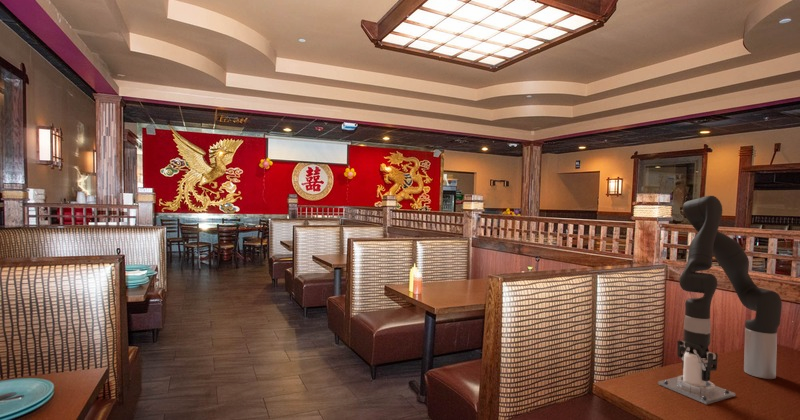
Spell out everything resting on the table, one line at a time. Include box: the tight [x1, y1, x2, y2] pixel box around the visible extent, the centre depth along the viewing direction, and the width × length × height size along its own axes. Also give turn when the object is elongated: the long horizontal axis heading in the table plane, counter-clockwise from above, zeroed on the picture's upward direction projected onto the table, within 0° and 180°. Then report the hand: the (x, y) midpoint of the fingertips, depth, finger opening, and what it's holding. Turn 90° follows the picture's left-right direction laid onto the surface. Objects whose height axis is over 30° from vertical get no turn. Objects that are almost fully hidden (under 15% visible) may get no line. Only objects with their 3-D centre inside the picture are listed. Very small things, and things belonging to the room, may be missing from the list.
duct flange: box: [657, 374, 736, 406], centre depth 141 cm, size 16×16×3 cm
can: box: [682, 351, 707, 387], centre depth 141 cm, size 6×6×12 cm
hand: (695, 375), depth 141 cm, fingers open, 7 cm apart
